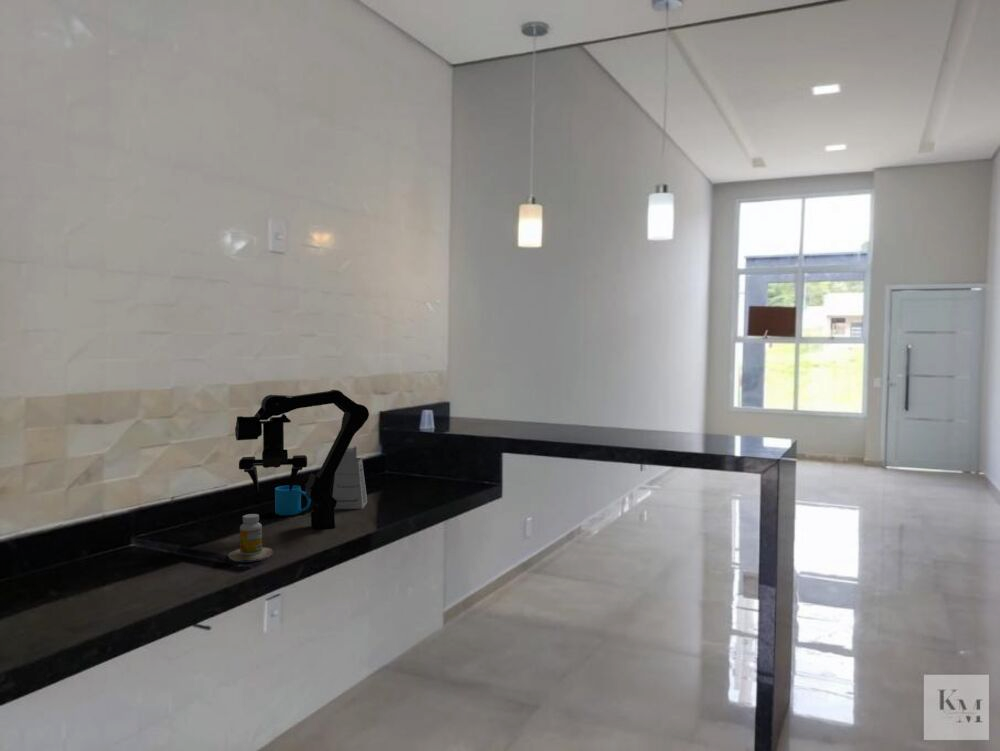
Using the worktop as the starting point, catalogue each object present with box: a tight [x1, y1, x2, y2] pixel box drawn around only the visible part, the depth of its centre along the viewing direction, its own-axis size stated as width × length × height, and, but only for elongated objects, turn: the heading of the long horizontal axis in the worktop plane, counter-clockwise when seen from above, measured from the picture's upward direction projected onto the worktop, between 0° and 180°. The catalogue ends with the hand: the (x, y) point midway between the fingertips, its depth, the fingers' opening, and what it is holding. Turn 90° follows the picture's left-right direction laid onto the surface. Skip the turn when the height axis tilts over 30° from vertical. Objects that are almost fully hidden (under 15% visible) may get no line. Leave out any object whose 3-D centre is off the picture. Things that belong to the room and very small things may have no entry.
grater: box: [331, 445, 368, 510], centre depth 248 cm, size 10×10×20 cm
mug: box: [274, 484, 312, 516], centre depth 237 cm, size 12×8×8 cm
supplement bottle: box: [239, 513, 263, 555], centre depth 189 cm, size 5×5×10 cm
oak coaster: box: [227, 546, 274, 561], centre depth 189 cm, size 11×11×1 cm
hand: (274, 491), depth 213 cm, fingers open, 9 cm apart
